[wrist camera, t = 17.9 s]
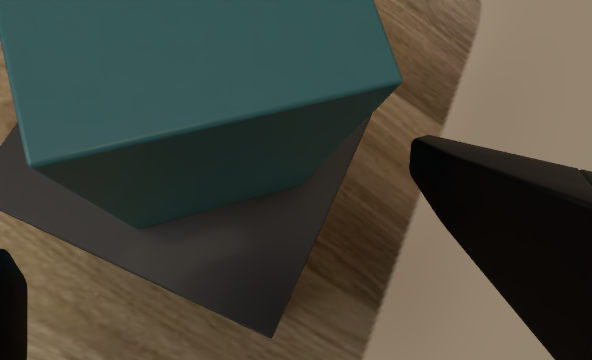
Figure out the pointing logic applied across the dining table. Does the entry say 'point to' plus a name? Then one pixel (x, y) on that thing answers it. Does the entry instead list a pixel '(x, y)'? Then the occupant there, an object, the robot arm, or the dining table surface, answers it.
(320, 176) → the charcoal riser
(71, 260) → the dining table surface
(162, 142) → the teal toy block
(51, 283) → the dining table surface
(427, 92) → the dining table surface
